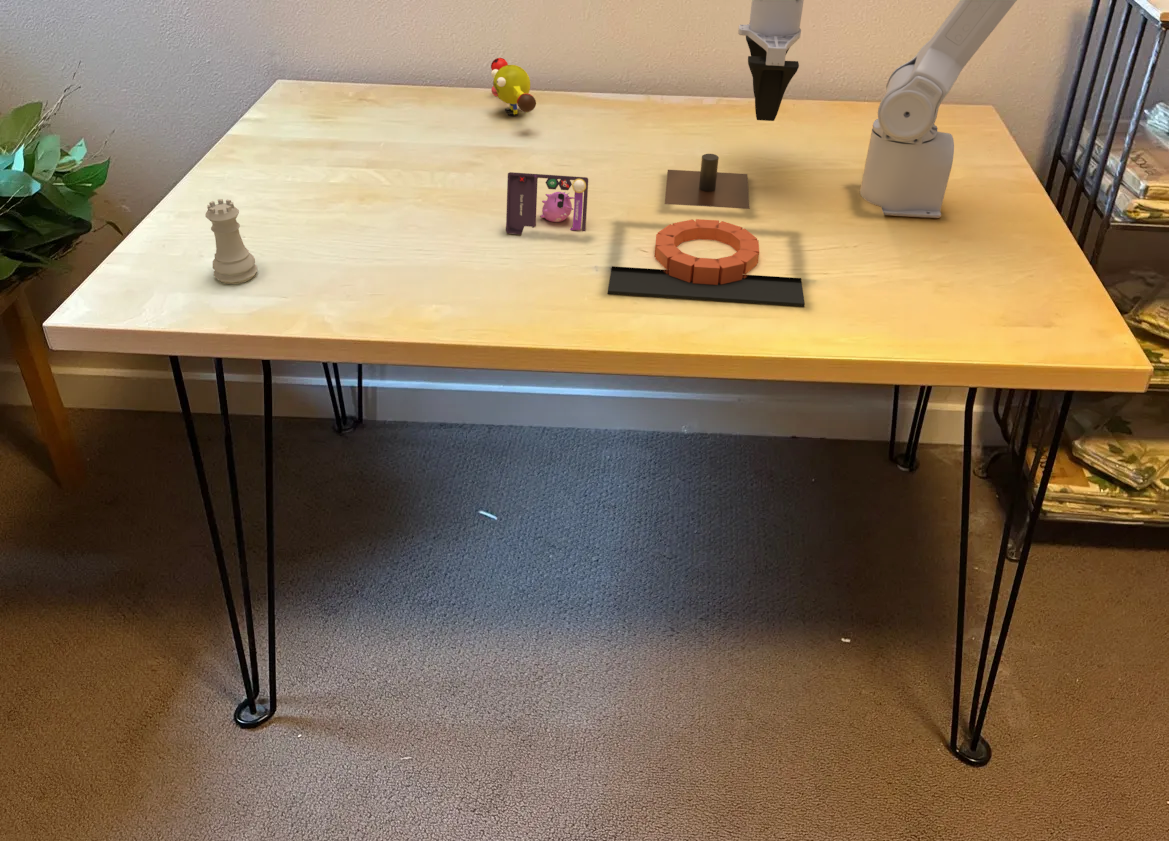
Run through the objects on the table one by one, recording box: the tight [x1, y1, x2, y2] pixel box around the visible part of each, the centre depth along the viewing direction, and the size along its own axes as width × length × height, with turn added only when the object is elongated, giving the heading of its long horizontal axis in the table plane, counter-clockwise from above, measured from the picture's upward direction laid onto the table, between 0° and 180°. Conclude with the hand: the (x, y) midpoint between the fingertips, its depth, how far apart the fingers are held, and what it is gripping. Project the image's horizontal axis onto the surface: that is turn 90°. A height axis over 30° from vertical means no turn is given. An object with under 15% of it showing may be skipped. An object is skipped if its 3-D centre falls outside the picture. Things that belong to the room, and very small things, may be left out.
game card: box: [505, 171, 589, 235], centre depth 111 cm, size 7×5×9 cm
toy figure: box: [490, 57, 537, 117], centre depth 138 cm, size 18×6×7 cm, turn 17°
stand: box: [664, 153, 751, 210], centre depth 118 cm, size 10×10×5 cm
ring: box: [654, 218, 760, 285], centre depth 105 cm, size 11×11×2 cm
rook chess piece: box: [205, 198, 258, 285], centre depth 100 cm, size 4×4×8 cm
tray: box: [607, 265, 806, 308], centre depth 106 cm, size 20×16×1 cm
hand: (763, 107), depth 117 cm, fingers open, 7 cm apart
